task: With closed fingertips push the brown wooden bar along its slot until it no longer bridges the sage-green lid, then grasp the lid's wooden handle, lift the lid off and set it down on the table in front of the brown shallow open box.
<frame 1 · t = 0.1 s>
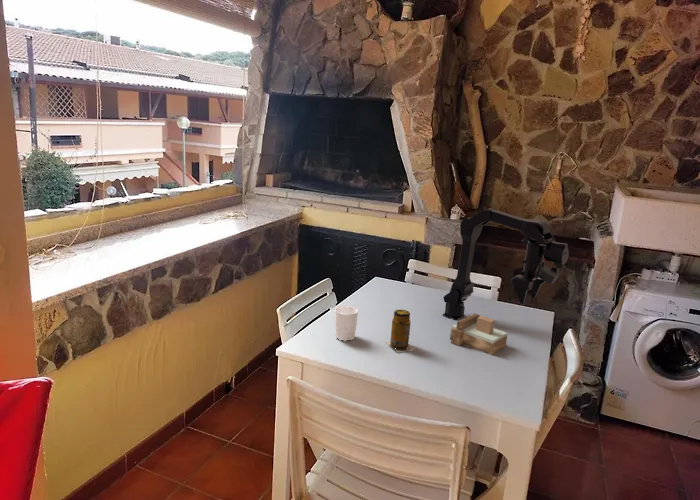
hand: (527, 300, 180), 15 cm above the table, fingers open, 9 cm apart
brown shallow open box: (477, 342, 179), on the table
lid: (478, 332, 178), point 4 cm above the table, touching brown shallow open box
condiment: (400, 347, 173), on the table
brown wooden bar: (468, 321, 180), point 6 cm above the table, slide at 0.0 cm
white cup: (344, 337, 177), on the table
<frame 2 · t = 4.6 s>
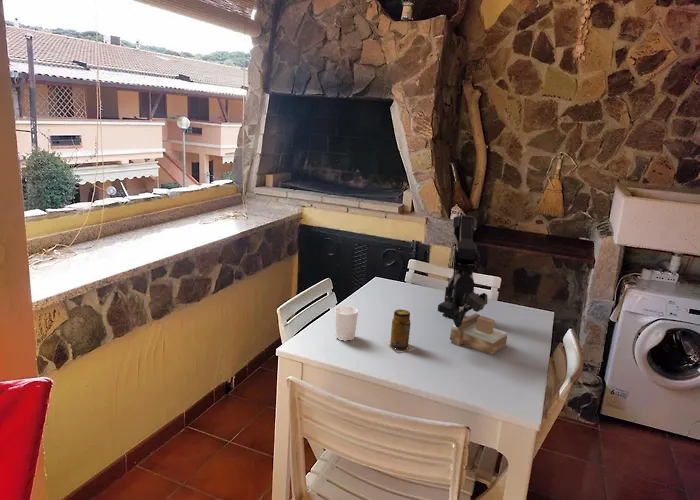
hand: (457, 327, 175), 6 cm above the table, fingers closed
brown wooden bar: (468, 321, 180), point 7 cm above the table, slide at 0.3 cm, touching gripper
everything else where it was.
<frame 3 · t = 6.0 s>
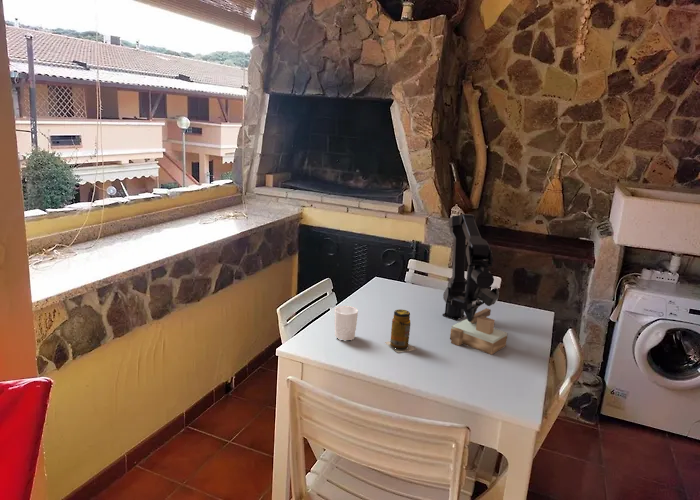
hand: (469, 321, 181), 6 cm above the table, fingers closed
brown wooden bar: (480, 315, 186), point 6 cm above the table, slide at 8.3 cm, touching gripper
everything else where it was.
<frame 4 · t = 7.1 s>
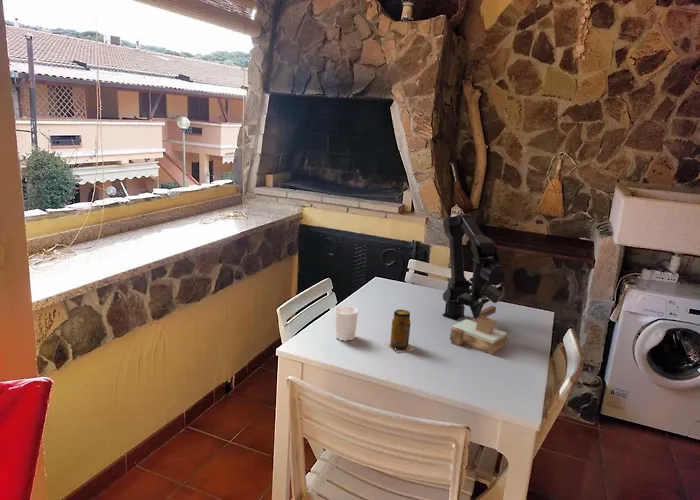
hand: (475, 318, 184), 6 cm above the table, fingers closed
brown wooden bar: (485, 312, 189), point 6 cm above the table, slide at 12.3 cm, touching gripper
everything else where it was.
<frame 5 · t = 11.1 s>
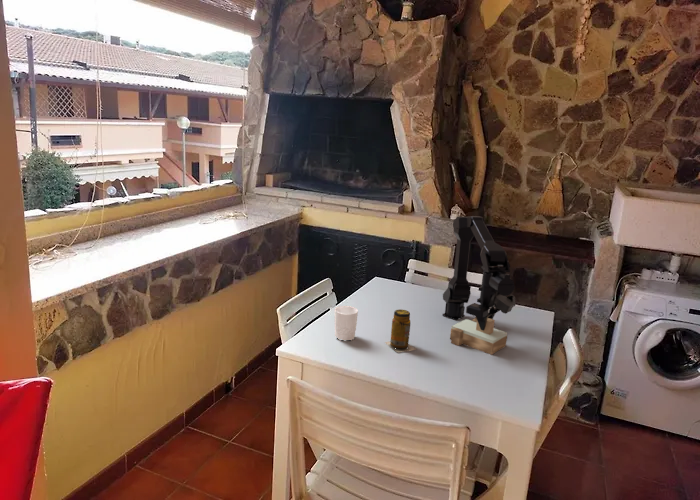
hand: (484, 328, 176), 6 cm above the table, fingers closed on lid, 3 cm apart
lid: (478, 332, 178), point 4 cm above the table, touching gripper, brown shallow open box
brown wooden bar: (486, 312, 189), point 7 cm above the table, slide at 12.6 cm
everything else where it was.
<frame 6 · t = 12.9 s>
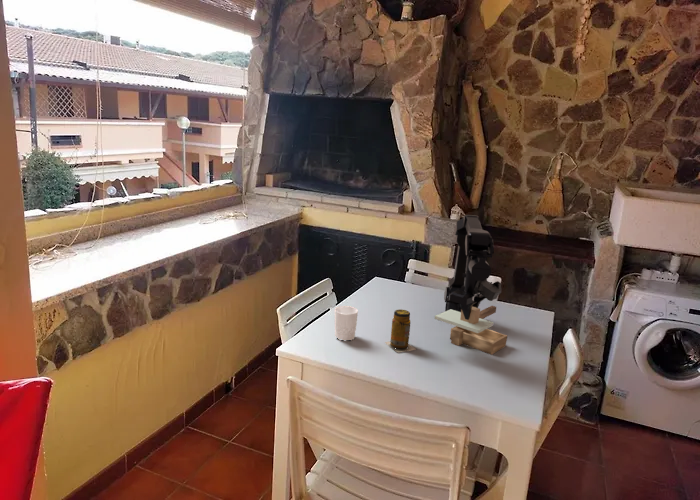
hand: (469, 318, 165), 13 cm above the table, fingers closed on lid, 3 cm apart
lid: (463, 322, 167), point 11 cm above the table, touching gripper
everything else where it was.
when the fingers open (4 cm above the table, at t = 15.0 s): lid drops 2 cm, on the table.
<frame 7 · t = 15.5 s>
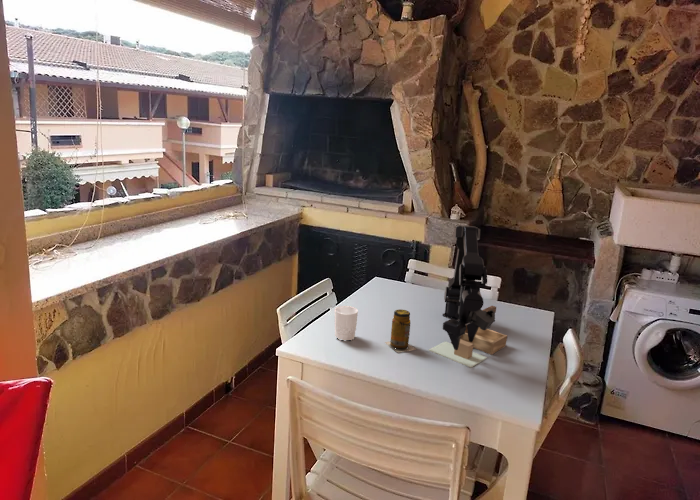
hand: (463, 345, 167), 4 cm above the table, fingers open, 9 cm apart
lid: (457, 356, 169), on the table
everything else where it was.
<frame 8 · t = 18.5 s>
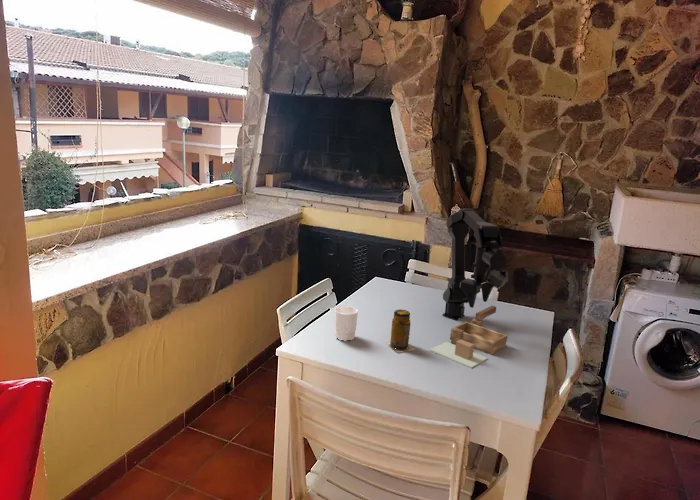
hand: (478, 304, 180), 13 cm above the table, fingers open, 9 cm apart
nothing on the table moved.
at the end: brown wooden bar slide at 12.6 cm; lid inside the target area (0.6 cm from its centre), on the table; lid tilted 0° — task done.
